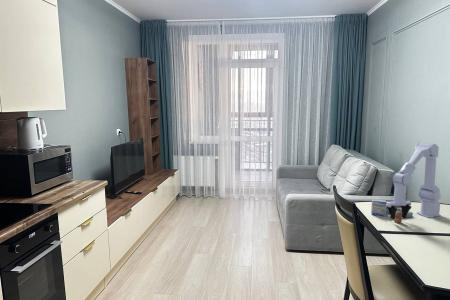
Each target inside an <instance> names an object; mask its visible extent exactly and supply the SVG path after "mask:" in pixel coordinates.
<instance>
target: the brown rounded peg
mask: <svg viewBox="0 0 450 300" xmlns="http://www.w3.org/2000/svg"><path fill="white" fill-rule="evenodd" d="M402 219H403V218H402V212H400V211H396V214H395V219H394V223H395V224H402V221H403V220H402Z"/></svg>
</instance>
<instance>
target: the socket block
mask: <svg viewBox="0 0 450 300" xmlns="http://www.w3.org/2000/svg"><path fill="white" fill-rule="evenodd" d="M397 211H400V212H402V208H400V207H397ZM387 213H388V214H387ZM413 213H414V212H412V211H410V210H409V212H408V213H407V216H406V218H412V217H413ZM386 214H387V215H389V214H390V213H389V210H388V209H386ZM402 219H403V217H402Z"/></svg>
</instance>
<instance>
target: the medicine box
mask: <svg viewBox="0 0 450 300" xmlns="http://www.w3.org/2000/svg"><path fill="white" fill-rule="evenodd" d="M387 203H388V202H387V200H383V199H374V198H372V199H371V209H370V210H371V211H370V213H371V215H372V216H379V215H380V216H381V217H382V216H383V217H386V216H387V213H386V207H387ZM380 216H379V217H380Z"/></svg>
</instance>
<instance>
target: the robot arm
mask: <svg viewBox="0 0 450 300" xmlns="http://www.w3.org/2000/svg"><path fill="white" fill-rule="evenodd" d="M423 157H424V158H425V163H424V182H423V184H422V185H419V190H418V193H417V195H418V197H419V198H420V200H421V202H420V211H417V212H416V213H417V214H418V215H421V216H424V217H426V218H433V217H434V218H435V217H441V214H440V211H441V210H440V209H441V203H440V201H439V200H440V199H441V192H440V190H441V189H440V188H439V187H438V185H436V184H435V183H436V172H437V169H436V168H437V158H438V157H439V146H438V144H436V143H427V142H420V141H419V142H417V143H416V144H415V145H414V152H413V154H412V156H411V157H410V160H409V161H408V162H405V163H404V164H403V166H402V167H400V170H399V171H398V172H396V173H394V174H393V177H392V181H393V186H394V191H393V201H390V202H387V208H388V210H389V213H390V215H389V216H390V219H391V220H394V221H395V214H396V211H397V208H395V206H401V208H402V217H403V218H404V219H406V218H407V217H406V216H407V213H408V212H409V211H410V210H411V209H412V201H411V200H406V196H407V185H408V184H409V183H410V180H411V176H412V174H413V173H414V171H415V170H416V165H417V164H418V162H420V160H421V159H422V158H423ZM403 218H402V219H403Z"/></svg>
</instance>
